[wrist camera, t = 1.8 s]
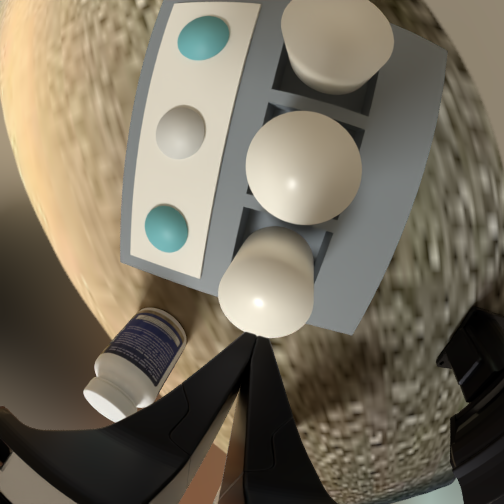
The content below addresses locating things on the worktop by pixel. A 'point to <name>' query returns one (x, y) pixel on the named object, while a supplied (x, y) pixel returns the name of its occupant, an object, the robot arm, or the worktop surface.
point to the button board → (239, 139)
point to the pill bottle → (136, 364)
